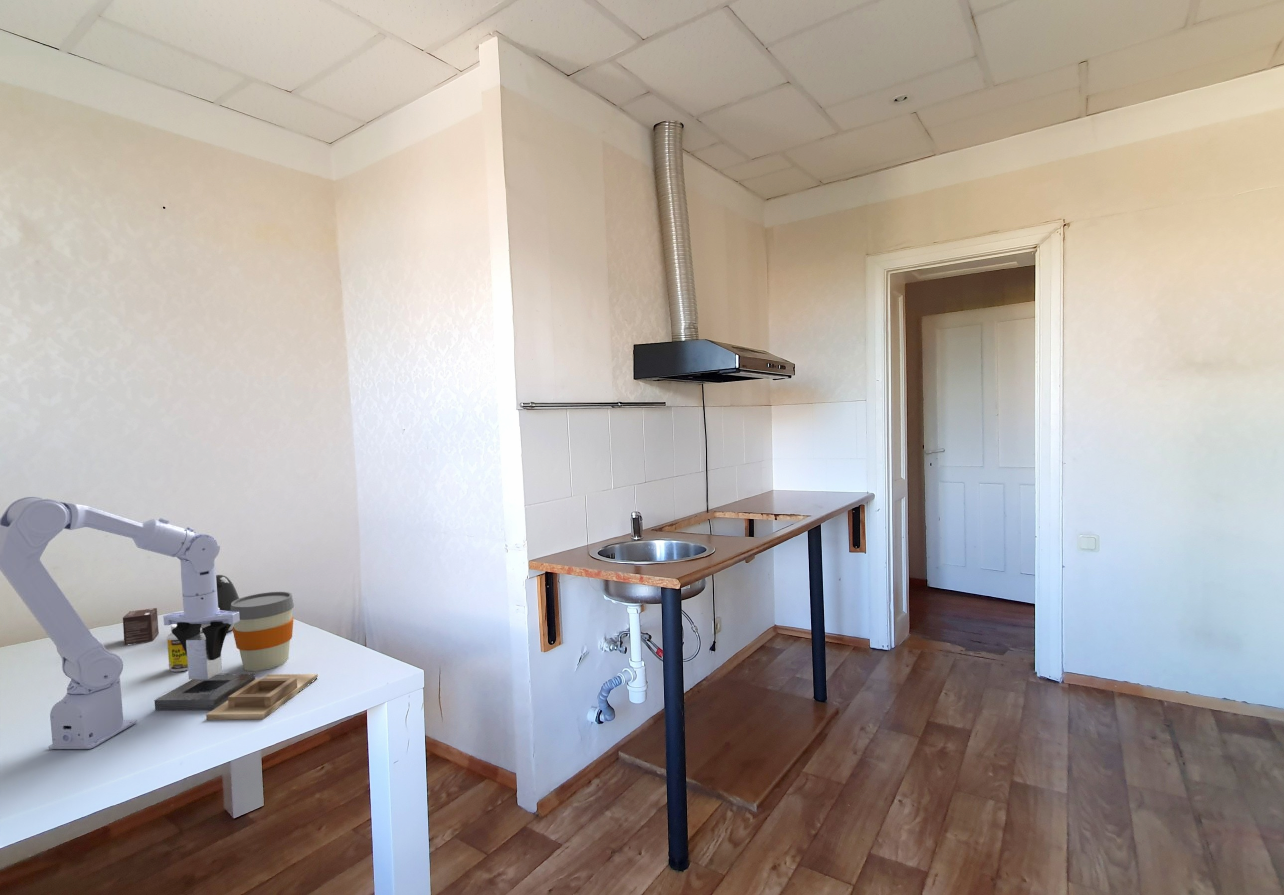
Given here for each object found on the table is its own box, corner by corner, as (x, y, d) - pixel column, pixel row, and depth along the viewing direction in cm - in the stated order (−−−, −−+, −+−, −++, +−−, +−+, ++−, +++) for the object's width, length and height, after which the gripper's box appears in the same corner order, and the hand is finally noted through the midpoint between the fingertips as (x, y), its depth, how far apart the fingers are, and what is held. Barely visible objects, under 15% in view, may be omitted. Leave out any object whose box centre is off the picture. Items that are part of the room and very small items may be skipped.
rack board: (263, 719, 117) (262, 703, 117) (206, 719, 118) (205, 703, 118) (317, 678, 135) (317, 664, 135) (268, 679, 136) (267, 665, 136)
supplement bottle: (168, 674, 140) (165, 629, 140) (170, 666, 145) (167, 623, 144) (199, 668, 143) (195, 624, 143) (200, 661, 148) (196, 618, 147)
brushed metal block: (207, 679, 126) (205, 639, 125) (188, 679, 126) (185, 640, 126) (222, 671, 130) (219, 632, 129) (203, 671, 130) (201, 633, 130)
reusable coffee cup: (308, 658, 147) (304, 594, 146) (252, 678, 136) (248, 610, 136) (278, 649, 154) (274, 588, 153) (222, 668, 143) (218, 603, 142)
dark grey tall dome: (201, 640, 162) (197, 582, 161) (195, 631, 170) (191, 575, 169) (247, 630, 169) (243, 574, 168) (239, 621, 177) (235, 568, 176)
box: (131, 638, 166) (129, 611, 165) (159, 634, 168) (157, 607, 168) (123, 645, 160) (121, 617, 160) (153, 641, 163) (150, 613, 162)
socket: (214, 709, 122) (213, 699, 122) (155, 710, 122) (154, 700, 122) (255, 683, 134) (254, 673, 134) (201, 683, 134) (200, 674, 134)
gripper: (247, 586, 131) (252, 650, 131) (181, 587, 131) (185, 651, 132) (223, 596, 124) (228, 663, 124) (153, 597, 124) (158, 664, 125)
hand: (204, 658), depth 128 cm, fingers closed on brushed metal block, 4 cm apart
